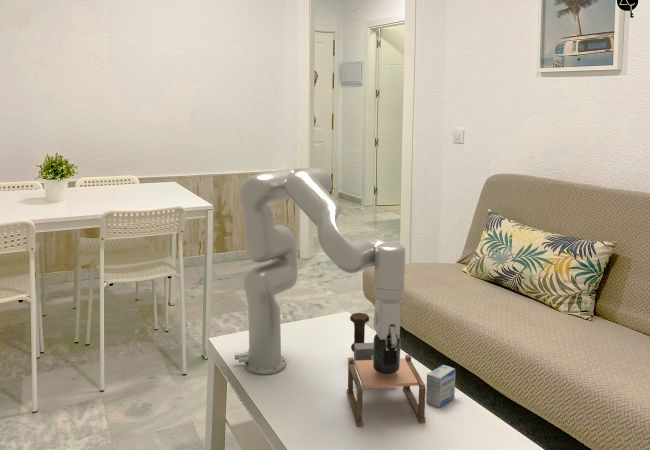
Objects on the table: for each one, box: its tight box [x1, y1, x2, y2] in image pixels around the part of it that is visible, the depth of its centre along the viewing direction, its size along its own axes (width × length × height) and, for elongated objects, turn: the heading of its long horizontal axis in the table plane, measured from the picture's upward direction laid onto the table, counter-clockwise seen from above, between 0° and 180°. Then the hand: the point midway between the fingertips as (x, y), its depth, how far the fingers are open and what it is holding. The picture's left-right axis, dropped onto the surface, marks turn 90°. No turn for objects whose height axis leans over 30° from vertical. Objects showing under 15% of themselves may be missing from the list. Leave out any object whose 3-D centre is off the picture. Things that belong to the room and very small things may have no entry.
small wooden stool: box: [346, 354, 427, 428], centre depth 158 cm, size 18×17×11 cm
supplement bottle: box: [373, 333, 402, 374], centre depth 153 cm, size 7×7×12 cm
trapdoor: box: [353, 342, 419, 390], centre depth 160 cm, size 14×21×5 cm, turn 6°
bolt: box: [349, 312, 370, 353], centre depth 184 cm, size 6×5×15 cm
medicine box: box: [425, 364, 457, 409], centre depth 162 cm, size 8×4×9 cm, turn 138°
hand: (386, 357), depth 154 cm, fingers closed on supplement bottle, 6 cm apart
